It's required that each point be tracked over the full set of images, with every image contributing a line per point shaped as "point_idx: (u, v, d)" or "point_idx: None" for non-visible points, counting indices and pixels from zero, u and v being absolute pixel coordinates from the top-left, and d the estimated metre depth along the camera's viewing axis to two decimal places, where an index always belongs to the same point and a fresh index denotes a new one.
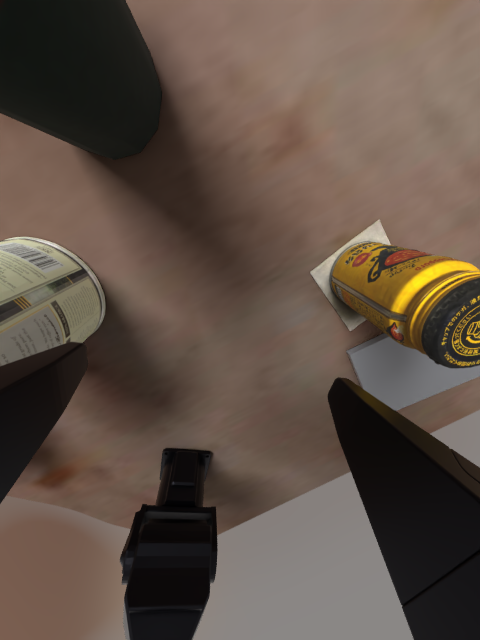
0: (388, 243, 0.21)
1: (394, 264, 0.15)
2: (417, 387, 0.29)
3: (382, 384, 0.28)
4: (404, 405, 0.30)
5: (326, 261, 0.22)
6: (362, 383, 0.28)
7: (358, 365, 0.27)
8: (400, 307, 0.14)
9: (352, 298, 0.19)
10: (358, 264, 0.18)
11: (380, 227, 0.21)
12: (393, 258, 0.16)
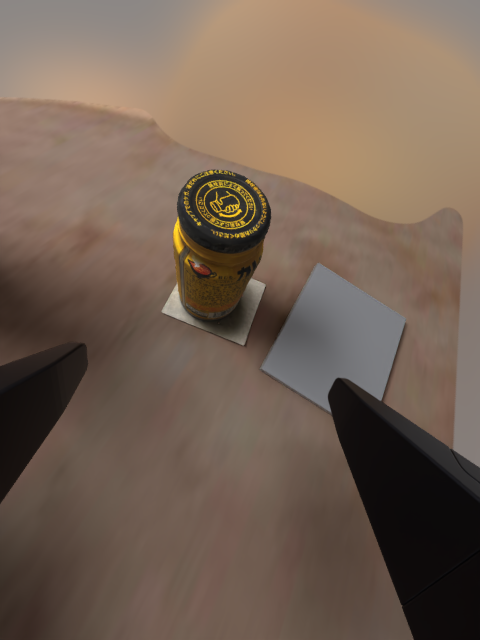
0: None
1: None
2: (366, 366, 0.24)
3: (328, 384, 0.22)
4: (379, 396, 0.23)
5: (170, 297, 0.22)
6: (306, 395, 0.22)
7: (281, 375, 0.22)
8: (179, 244, 0.14)
9: (187, 294, 0.18)
10: None
11: None
12: None
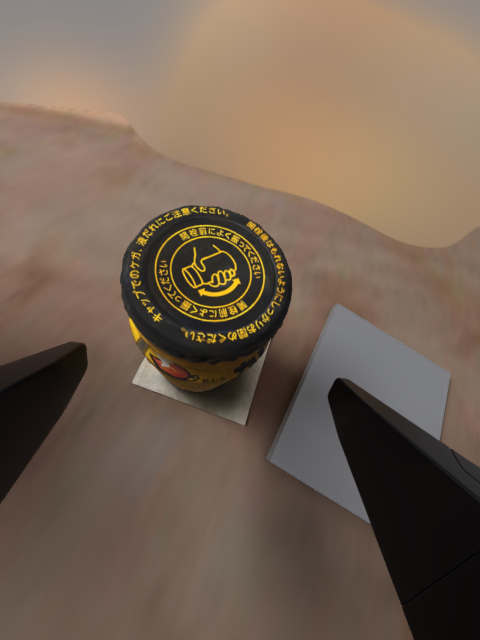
0: None
1: None
2: None
3: None
4: None
5: (145, 359, 0.17)
6: (332, 497, 0.16)
7: (297, 469, 0.16)
8: (136, 328, 0.08)
9: None
10: None
11: None
12: None
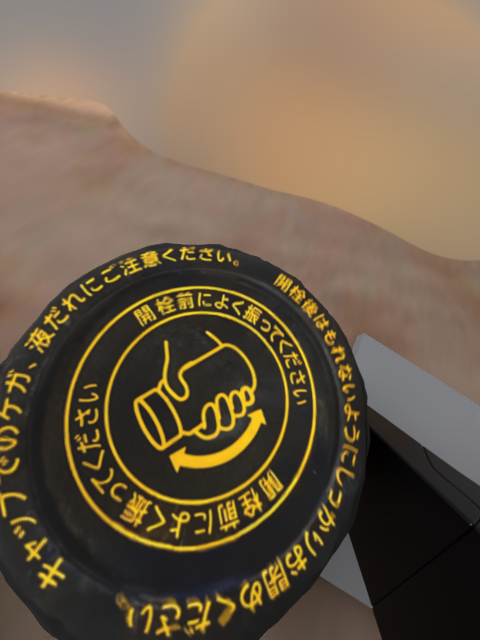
0: None
1: None
2: None
3: None
4: None
5: None
6: (366, 601, 0.12)
7: None
8: None
9: None
10: None
11: None
12: None
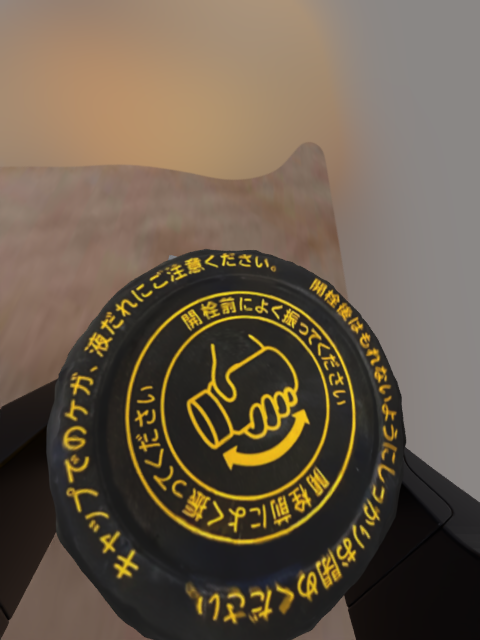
0: None
1: None
2: None
3: None
4: None
5: None
6: None
7: None
8: None
9: None
10: None
11: None
12: None
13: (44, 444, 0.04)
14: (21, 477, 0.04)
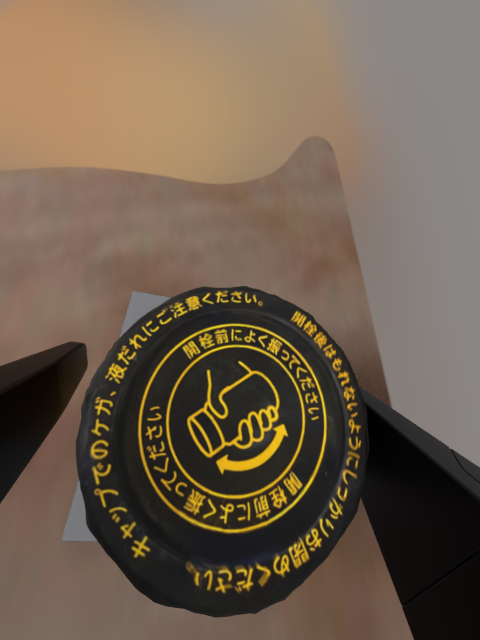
0: None
1: None
2: None
3: None
4: None
5: None
6: None
7: None
8: None
9: None
10: None
11: None
12: None
13: None
14: None
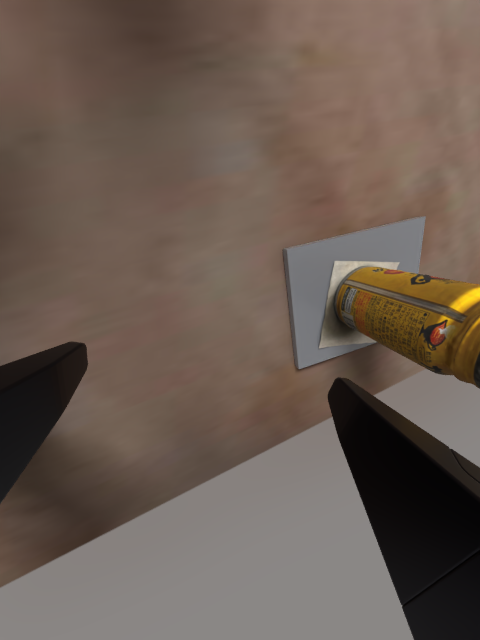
0: None
1: (444, 279, 0.15)
2: None
3: (315, 314, 0.22)
4: (332, 355, 0.24)
5: (351, 262, 0.21)
6: (293, 305, 0.21)
7: (294, 272, 0.20)
8: (462, 306, 0.13)
9: (377, 298, 0.17)
10: (393, 273, 0.18)
11: (395, 270, 0.22)
12: None
13: None
14: None
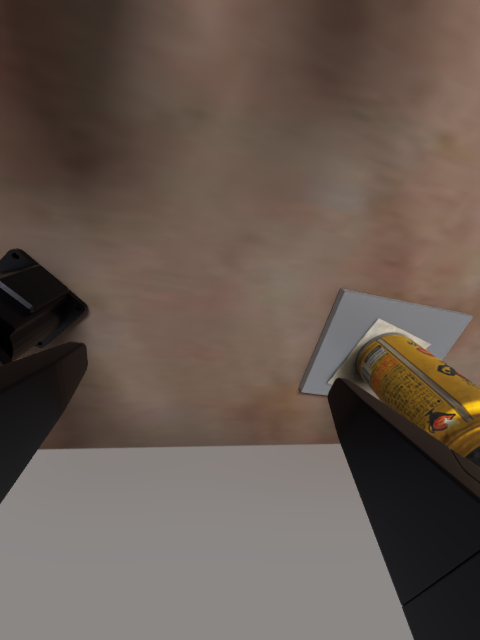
0: None
1: (467, 379, 0.17)
2: None
3: (339, 354, 0.24)
4: None
5: (391, 325, 0.22)
6: (326, 338, 0.23)
7: (340, 312, 0.22)
8: (473, 409, 0.15)
9: (401, 367, 0.19)
10: (424, 353, 0.20)
11: (424, 349, 0.24)
12: (461, 375, 0.18)
13: None
14: None
